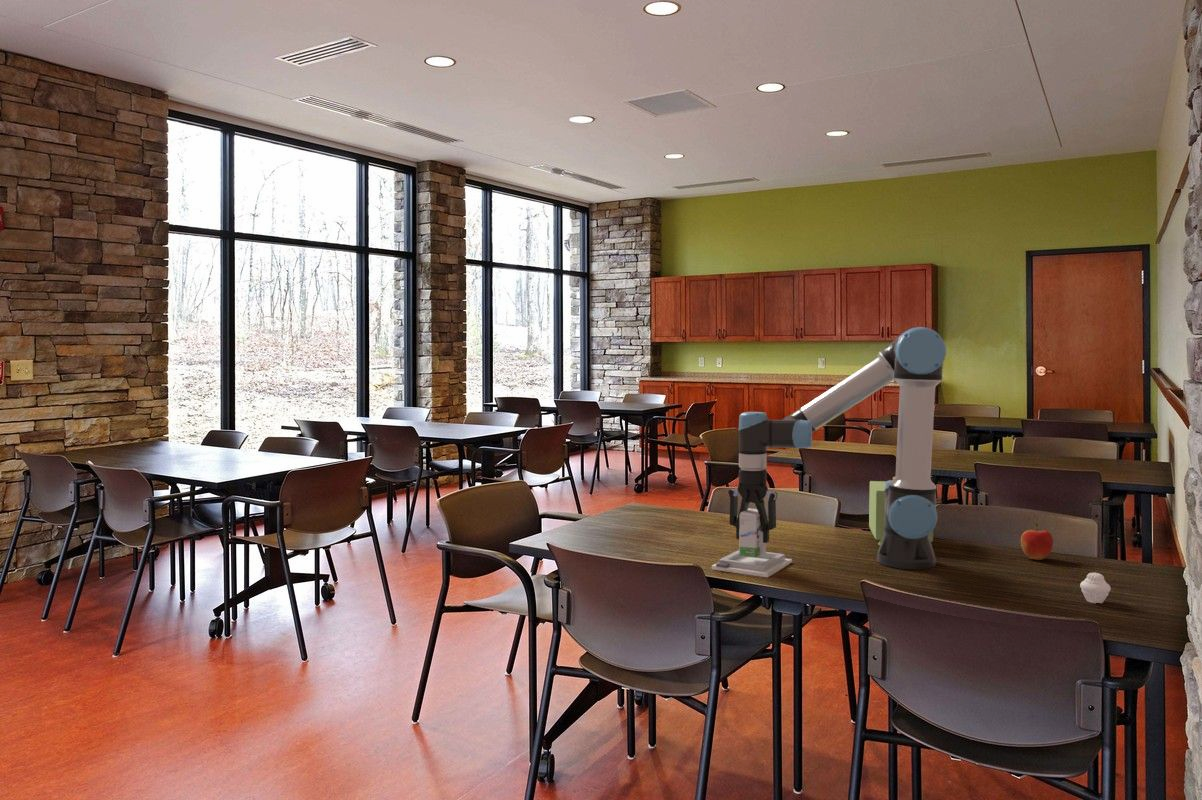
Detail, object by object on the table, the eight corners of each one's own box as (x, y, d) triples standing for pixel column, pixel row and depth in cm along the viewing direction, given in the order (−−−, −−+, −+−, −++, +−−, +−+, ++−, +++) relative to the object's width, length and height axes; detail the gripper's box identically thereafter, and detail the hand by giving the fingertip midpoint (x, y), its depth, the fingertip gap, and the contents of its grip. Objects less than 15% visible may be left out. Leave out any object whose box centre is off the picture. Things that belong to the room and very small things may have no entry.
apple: (1022, 561, 237) (1023, 525, 236) (1018, 554, 244) (1019, 520, 244) (1054, 563, 234) (1055, 527, 233) (1050, 557, 241) (1051, 522, 241)
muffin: (1081, 604, 198) (1082, 574, 197) (1077, 596, 203) (1078, 567, 203) (1112, 606, 195) (1113, 576, 195) (1107, 599, 201) (1108, 570, 201)
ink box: (756, 558, 229) (756, 514, 228) (738, 556, 231) (738, 513, 230) (765, 551, 236) (765, 509, 236) (748, 549, 239) (748, 507, 238)
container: (868, 533, 273) (869, 471, 272) (922, 535, 270) (923, 473, 269) (875, 547, 254) (876, 481, 253) (933, 549, 251) (934, 482, 250)
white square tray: (791, 562, 237) (791, 553, 237) (766, 577, 222) (767, 568, 222) (738, 555, 246) (738, 546, 246) (711, 569, 231) (711, 560, 230)
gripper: (789, 469, 231) (789, 554, 232) (727, 464, 240) (727, 546, 242) (779, 472, 224) (779, 559, 226) (716, 468, 234) (716, 551, 236)
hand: (752, 552), depth 234 cm, fingers closed on ink box, 5 cm apart
